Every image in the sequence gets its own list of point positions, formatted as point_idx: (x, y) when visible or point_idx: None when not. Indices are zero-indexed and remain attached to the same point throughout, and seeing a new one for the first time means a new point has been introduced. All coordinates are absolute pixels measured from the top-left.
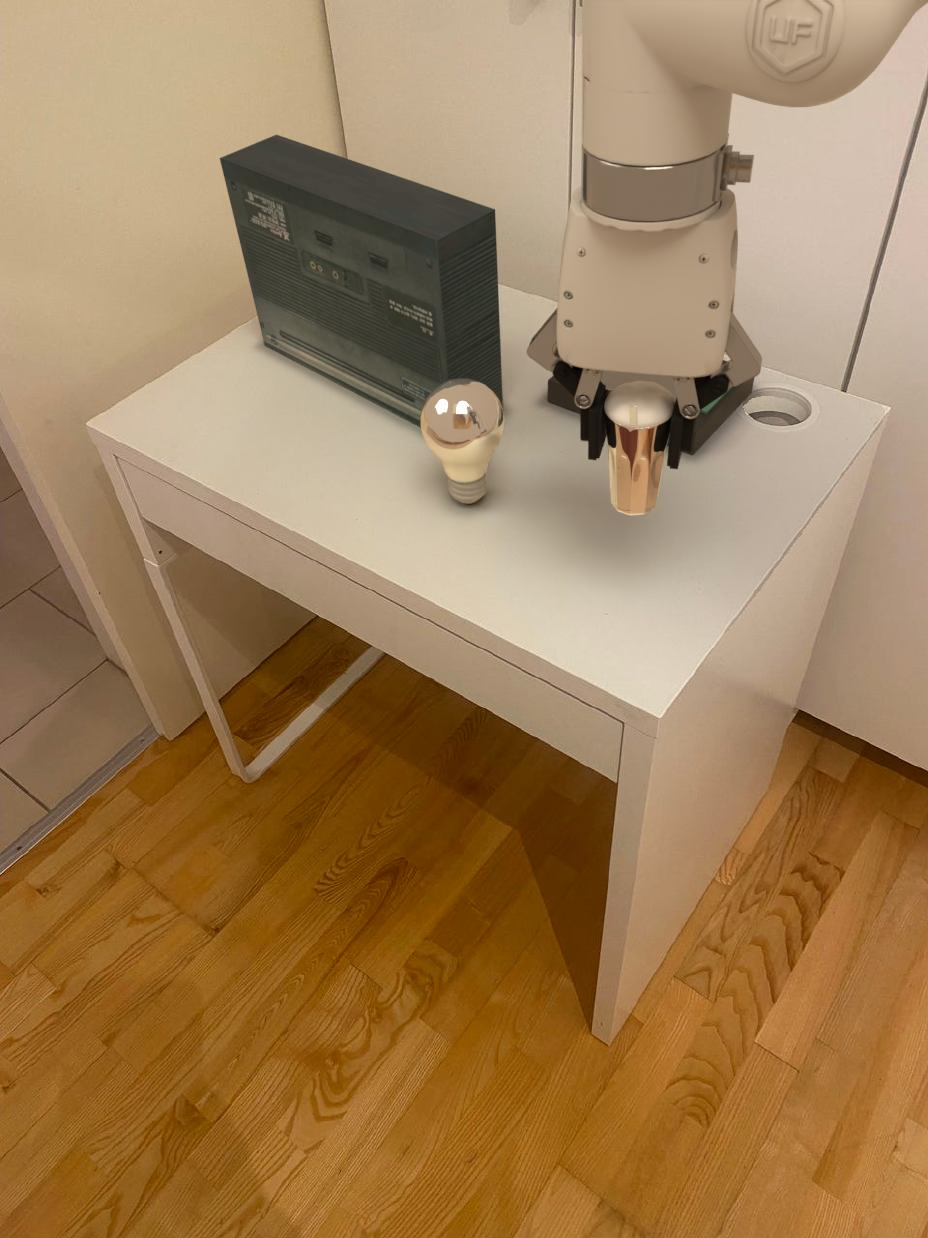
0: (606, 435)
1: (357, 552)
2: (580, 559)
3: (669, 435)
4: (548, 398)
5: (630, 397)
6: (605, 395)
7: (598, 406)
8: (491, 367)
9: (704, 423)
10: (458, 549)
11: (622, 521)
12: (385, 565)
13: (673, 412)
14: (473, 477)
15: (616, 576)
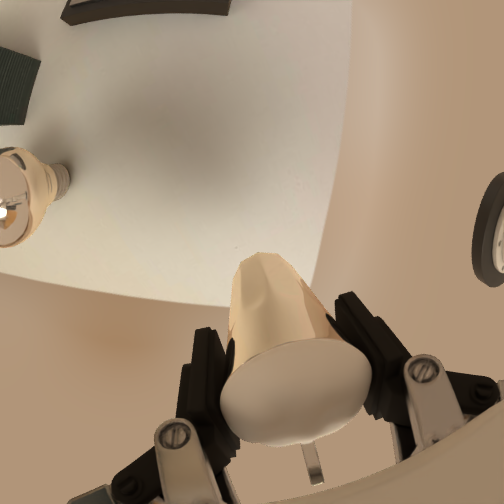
0: (216, 331)
1: (42, 276)
2: (184, 196)
3: (198, 7)
4: (69, 24)
5: (288, 436)
6: (222, 424)
7: (230, 448)
8: (5, 63)
9: None
10: (89, 238)
11: (198, 127)
12: (63, 279)
13: (373, 406)
14: (53, 199)
15: (225, 201)
